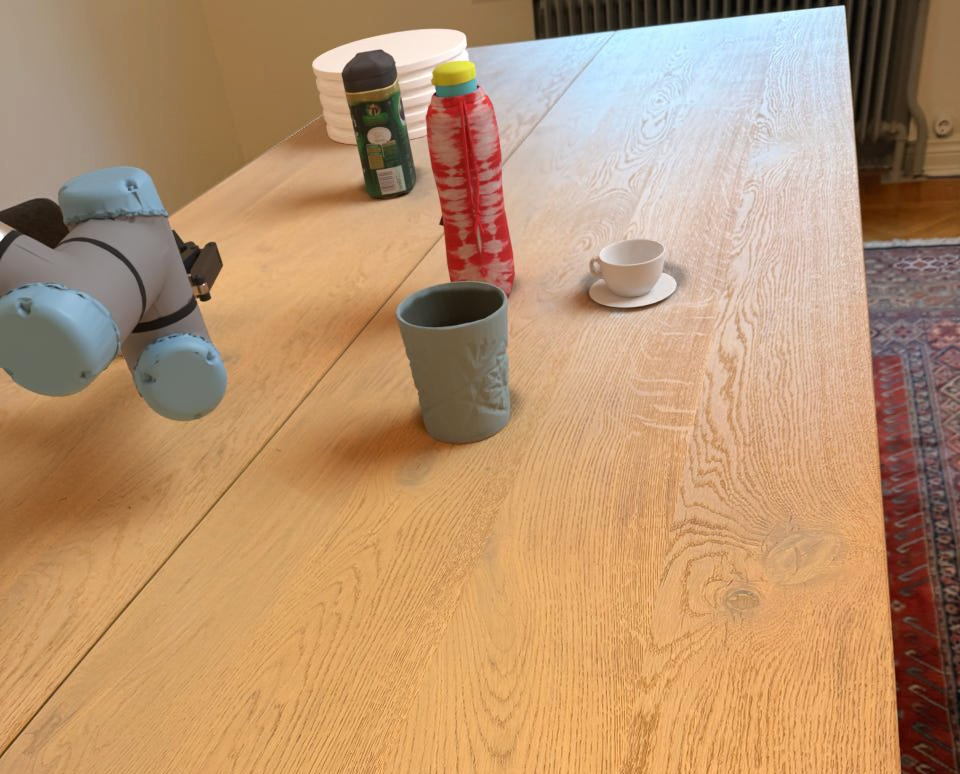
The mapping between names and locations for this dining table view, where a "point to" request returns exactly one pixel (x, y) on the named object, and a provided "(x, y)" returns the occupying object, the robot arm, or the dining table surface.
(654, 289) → the teacup
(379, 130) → the coffee jar
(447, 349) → the grey embossed cup
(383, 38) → the plate stack
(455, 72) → the water bottle
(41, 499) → the dining table surface
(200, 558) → the dining table surface
